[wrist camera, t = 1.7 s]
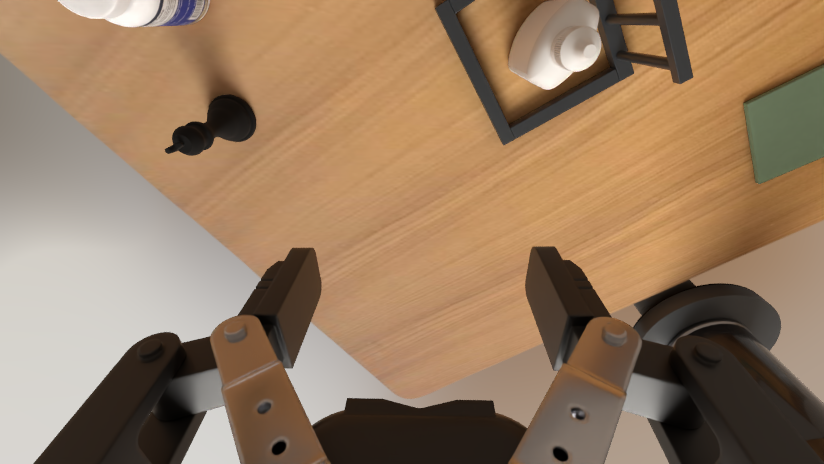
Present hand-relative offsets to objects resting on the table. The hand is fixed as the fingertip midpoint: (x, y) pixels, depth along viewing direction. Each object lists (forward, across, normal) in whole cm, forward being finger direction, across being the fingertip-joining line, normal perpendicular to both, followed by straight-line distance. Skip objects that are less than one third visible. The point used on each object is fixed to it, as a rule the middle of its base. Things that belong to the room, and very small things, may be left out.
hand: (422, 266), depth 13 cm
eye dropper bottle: (+24, +9, +6) cm, 26 cm away
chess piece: (+24, -18, 0) cm, 30 cm away
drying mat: (+24, +35, -1) cm, 42 cm away
